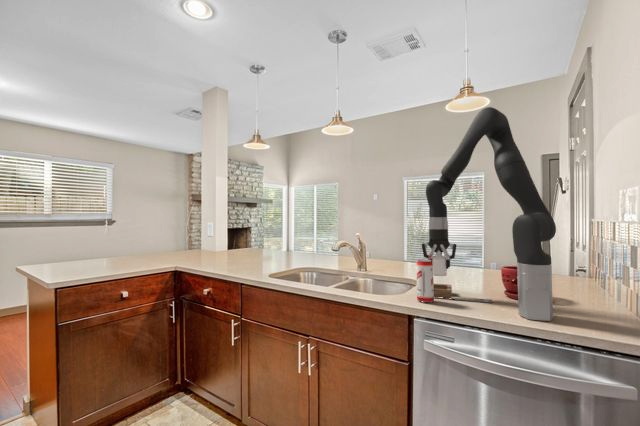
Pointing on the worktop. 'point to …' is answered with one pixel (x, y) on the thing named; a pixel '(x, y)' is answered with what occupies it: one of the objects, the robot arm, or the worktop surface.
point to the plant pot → (510, 281)
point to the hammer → (446, 292)
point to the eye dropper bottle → (439, 264)
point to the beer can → (425, 280)
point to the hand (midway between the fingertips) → (439, 268)
